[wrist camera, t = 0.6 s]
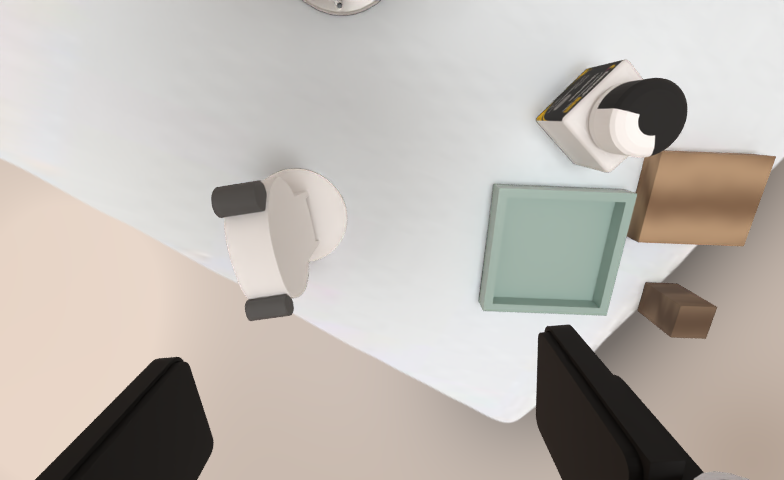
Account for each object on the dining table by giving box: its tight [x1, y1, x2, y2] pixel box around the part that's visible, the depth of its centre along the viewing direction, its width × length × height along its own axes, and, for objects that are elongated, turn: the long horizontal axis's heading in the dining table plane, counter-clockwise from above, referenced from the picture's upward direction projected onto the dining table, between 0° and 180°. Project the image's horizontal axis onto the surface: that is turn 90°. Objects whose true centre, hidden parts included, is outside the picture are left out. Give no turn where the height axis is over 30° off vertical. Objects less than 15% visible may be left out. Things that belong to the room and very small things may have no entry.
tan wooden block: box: [627, 150, 776, 246], centre depth 42 cm, size 10×12×3 cm
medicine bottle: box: [536, 60, 687, 173], centre depth 34 cm, size 7×7×12 cm
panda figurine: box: [211, 168, 347, 321], centre depth 37 cm, size 12×11×15 cm
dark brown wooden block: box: [638, 282, 717, 339], centre depth 44 cm, size 4×4×6 cm
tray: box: [479, 184, 637, 316], centre depth 44 cm, size 15×15×2 cm
